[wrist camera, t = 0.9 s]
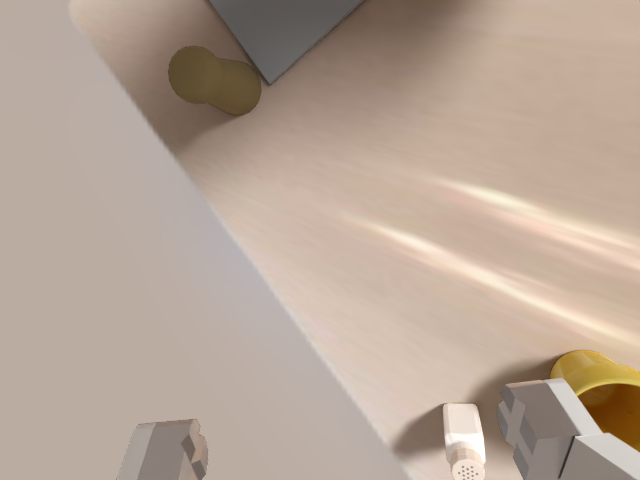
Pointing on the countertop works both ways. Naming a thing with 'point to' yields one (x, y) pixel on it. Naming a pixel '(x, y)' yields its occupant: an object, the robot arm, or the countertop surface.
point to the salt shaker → (464, 441)
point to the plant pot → (604, 392)
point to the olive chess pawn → (214, 80)
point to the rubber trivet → (281, 28)
